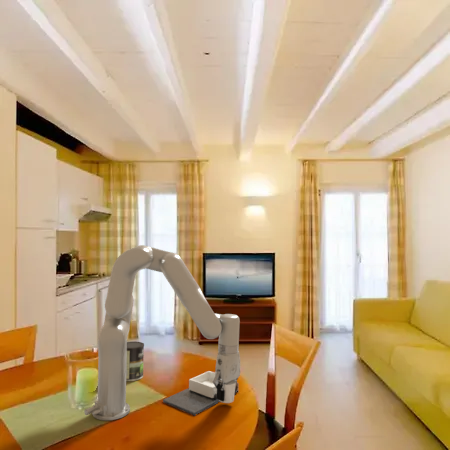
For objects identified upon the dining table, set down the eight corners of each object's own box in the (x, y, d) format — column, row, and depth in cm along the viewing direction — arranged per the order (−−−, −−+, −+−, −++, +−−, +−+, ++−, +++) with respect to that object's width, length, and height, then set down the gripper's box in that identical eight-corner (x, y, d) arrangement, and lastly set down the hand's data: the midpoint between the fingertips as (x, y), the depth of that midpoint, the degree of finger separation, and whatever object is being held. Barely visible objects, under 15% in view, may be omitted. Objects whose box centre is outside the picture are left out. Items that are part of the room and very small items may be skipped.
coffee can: (145, 372, 170) (146, 341, 171) (140, 381, 160) (140, 348, 160) (123, 372, 170) (123, 340, 171) (116, 381, 160) (116, 347, 160)
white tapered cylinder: (213, 400, 138) (214, 381, 138) (222, 394, 144) (223, 375, 144) (230, 405, 135) (231, 385, 135) (238, 398, 141) (239, 379, 141)
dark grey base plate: (194, 415, 131) (194, 405, 131) (163, 402, 141) (163, 392, 141) (238, 391, 152) (238, 383, 152) (208, 381, 161) (208, 373, 162)
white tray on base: (213, 399, 141) (214, 388, 141) (187, 389, 150) (187, 379, 150) (233, 389, 151) (233, 378, 151) (207, 380, 159) (207, 370, 159)
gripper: (221, 355, 131) (219, 408, 130) (249, 345, 145) (247, 393, 144) (205, 351, 136) (203, 401, 135) (234, 341, 149) (232, 387, 149)
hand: (226, 396), depth 140 cm, fingers closed on white tapered cylinder, 6 cm apart
